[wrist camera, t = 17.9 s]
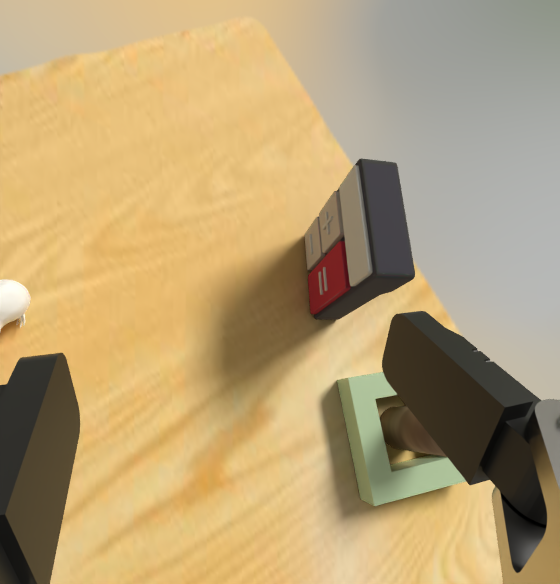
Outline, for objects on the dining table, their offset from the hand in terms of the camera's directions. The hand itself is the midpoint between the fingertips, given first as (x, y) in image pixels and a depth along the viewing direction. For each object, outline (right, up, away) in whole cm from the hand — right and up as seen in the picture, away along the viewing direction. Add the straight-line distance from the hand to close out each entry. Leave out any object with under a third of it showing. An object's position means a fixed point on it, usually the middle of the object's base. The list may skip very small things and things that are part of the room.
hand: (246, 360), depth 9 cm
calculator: (+6, +4, +36) cm, 37 cm away
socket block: (+14, -13, +32) cm, 38 cm away
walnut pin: (+14, -13, +32) cm, 38 cm away
